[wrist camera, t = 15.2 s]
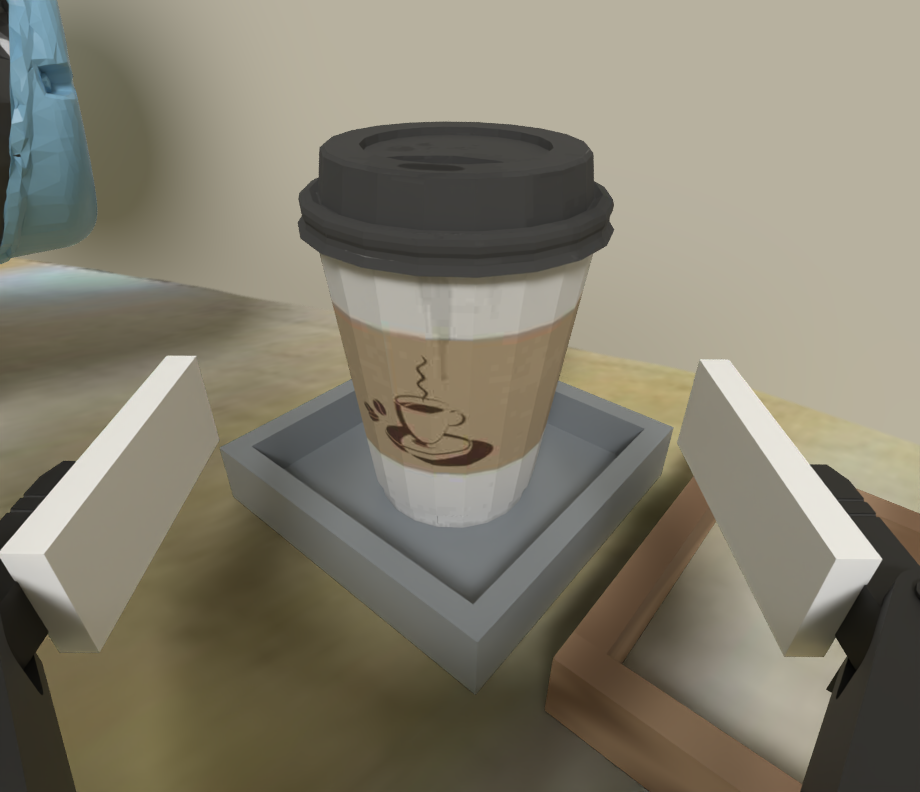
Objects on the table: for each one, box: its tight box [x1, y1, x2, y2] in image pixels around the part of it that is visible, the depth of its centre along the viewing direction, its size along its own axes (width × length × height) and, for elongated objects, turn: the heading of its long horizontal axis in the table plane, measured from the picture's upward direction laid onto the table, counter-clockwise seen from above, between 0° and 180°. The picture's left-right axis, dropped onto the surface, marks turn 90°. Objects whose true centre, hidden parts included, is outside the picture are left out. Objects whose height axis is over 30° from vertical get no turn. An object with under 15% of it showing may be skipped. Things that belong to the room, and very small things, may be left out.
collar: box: [545, 476, 920, 792], centre depth 20 cm, size 15×15×3 cm
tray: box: [220, 379, 674, 695], centre depth 28 cm, size 15×15×3 cm
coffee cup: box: [298, 122, 614, 528], centre depth 24 cm, size 11×11×15 cm
